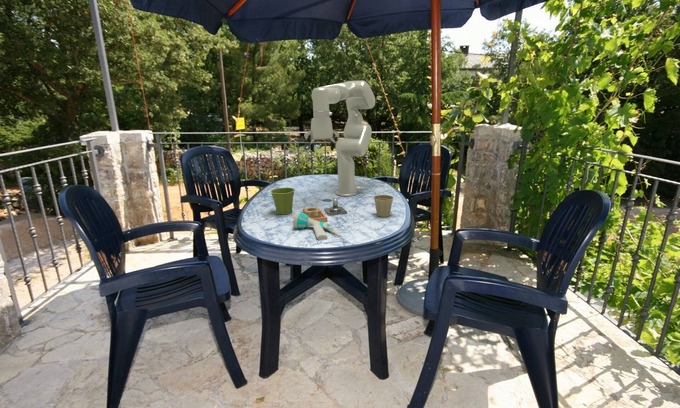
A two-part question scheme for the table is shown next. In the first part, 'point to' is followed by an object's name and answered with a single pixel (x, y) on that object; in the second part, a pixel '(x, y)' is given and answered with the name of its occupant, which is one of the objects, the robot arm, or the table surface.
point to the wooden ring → (312, 212)
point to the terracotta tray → (322, 218)
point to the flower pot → (383, 205)
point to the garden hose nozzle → (304, 221)
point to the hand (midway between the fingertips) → (322, 151)
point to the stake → (335, 209)
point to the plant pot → (283, 200)
